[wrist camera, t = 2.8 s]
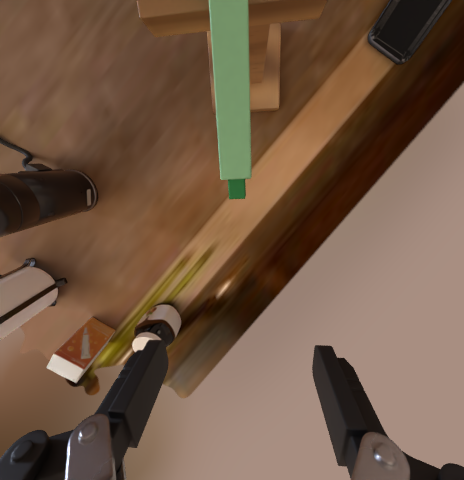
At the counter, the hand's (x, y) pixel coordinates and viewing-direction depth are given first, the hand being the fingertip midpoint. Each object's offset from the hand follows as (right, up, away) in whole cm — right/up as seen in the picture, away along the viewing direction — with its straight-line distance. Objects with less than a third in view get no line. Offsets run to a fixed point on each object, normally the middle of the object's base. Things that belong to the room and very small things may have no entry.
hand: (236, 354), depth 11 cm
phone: (+29, +43, +22) cm, 56 cm away
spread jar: (-19, -16, +49) cm, 55 cm away
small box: (-39, -21, +52) cm, 69 cm away
